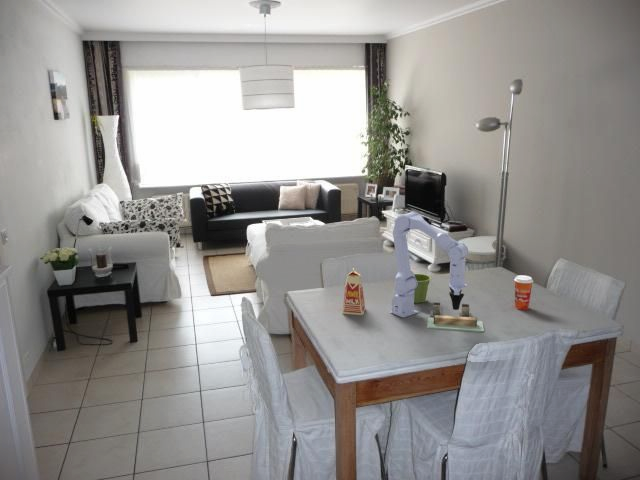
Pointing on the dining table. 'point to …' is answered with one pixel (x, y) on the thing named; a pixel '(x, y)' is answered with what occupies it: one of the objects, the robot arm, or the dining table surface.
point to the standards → (464, 313)
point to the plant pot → (421, 287)
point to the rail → (455, 320)
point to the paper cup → (522, 291)
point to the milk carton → (354, 295)
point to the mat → (455, 326)
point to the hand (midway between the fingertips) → (455, 306)
